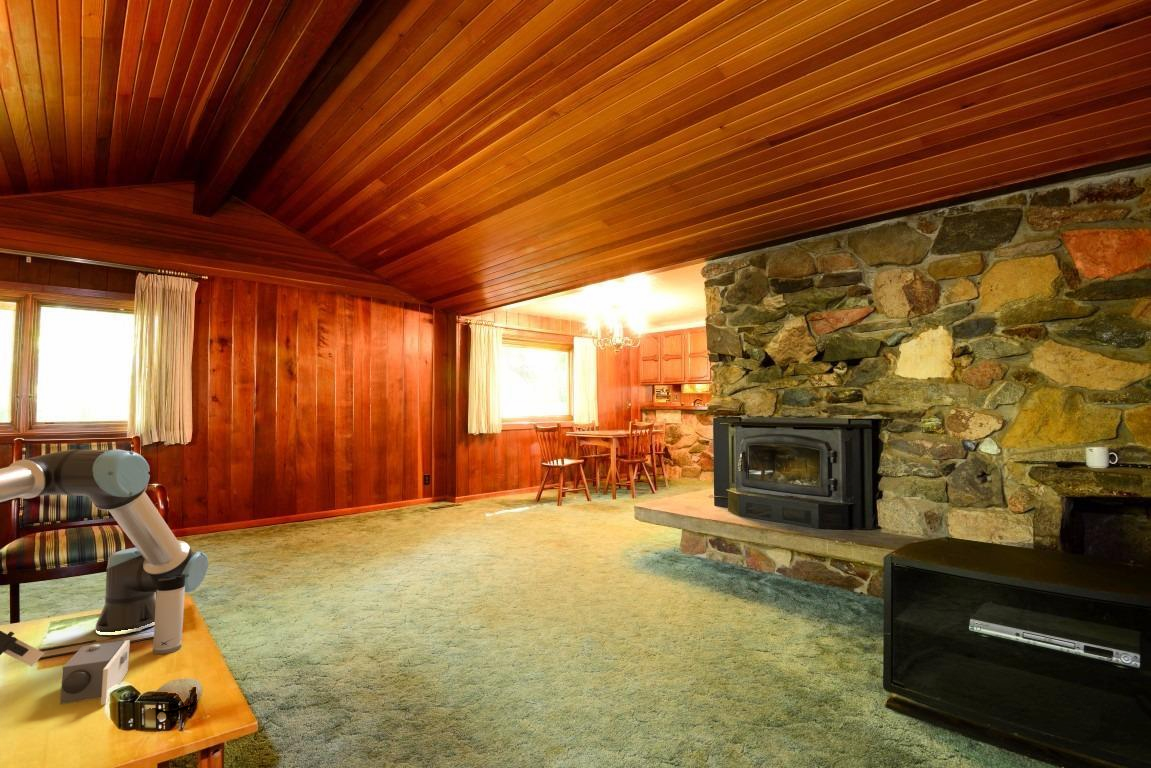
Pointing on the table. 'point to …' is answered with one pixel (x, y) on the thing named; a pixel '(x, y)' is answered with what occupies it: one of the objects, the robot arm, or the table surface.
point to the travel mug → (169, 614)
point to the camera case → (86, 672)
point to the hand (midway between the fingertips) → (36, 658)
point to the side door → (115, 670)
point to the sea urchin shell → (182, 687)
